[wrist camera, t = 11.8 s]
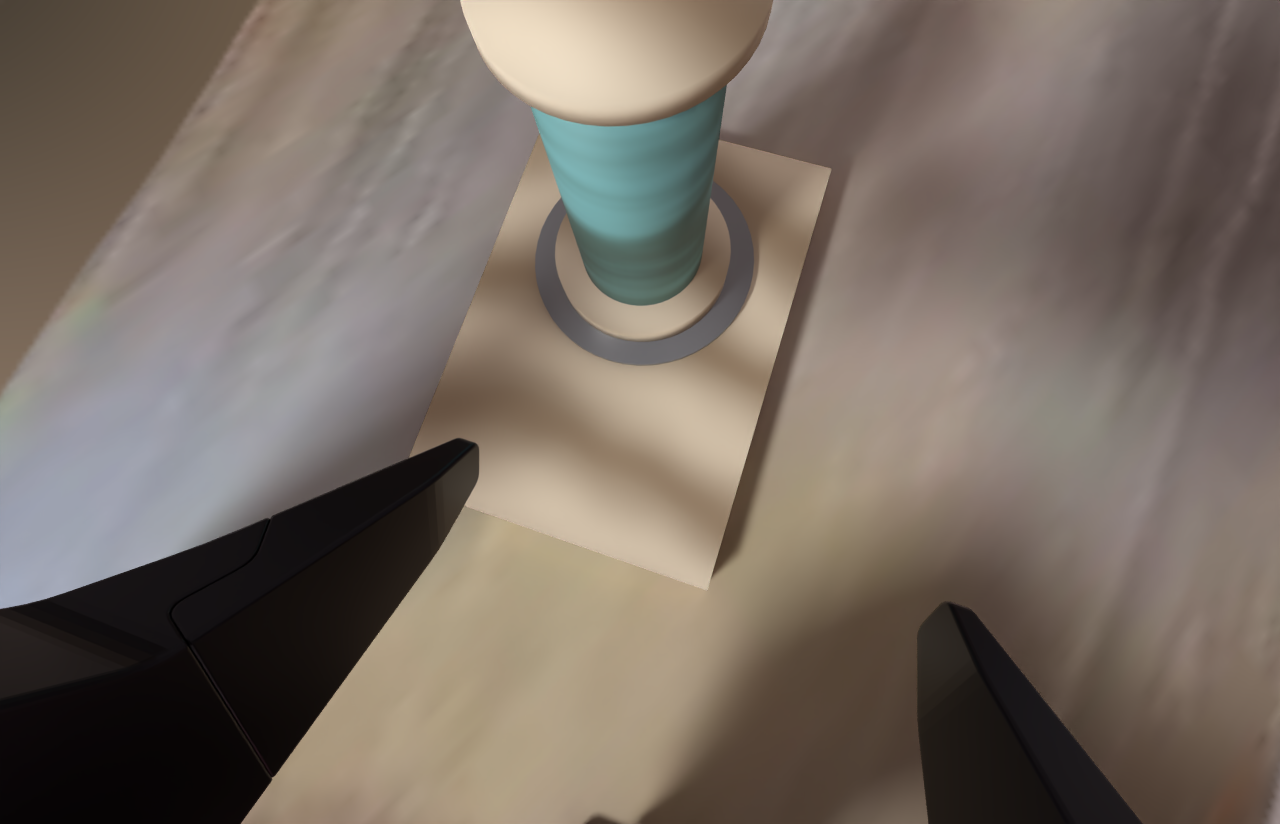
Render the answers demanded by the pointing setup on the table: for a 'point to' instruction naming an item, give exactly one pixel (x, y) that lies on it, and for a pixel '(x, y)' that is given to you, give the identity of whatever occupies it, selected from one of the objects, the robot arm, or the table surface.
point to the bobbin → (628, 143)
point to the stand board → (624, 378)
